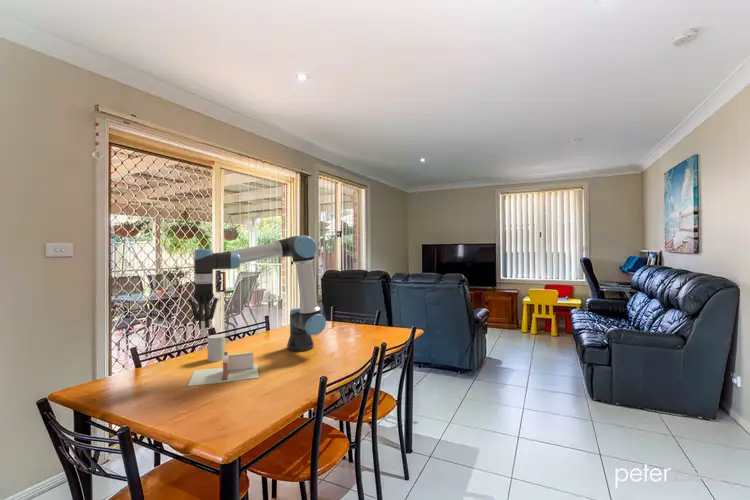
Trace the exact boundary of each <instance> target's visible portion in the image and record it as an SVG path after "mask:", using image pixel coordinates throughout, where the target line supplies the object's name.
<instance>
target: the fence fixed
mask: <svg viewBox="0 0 750 500" xmlns="http://www.w3.org/2000/svg"><path fill="white" fill-rule="evenodd" d="M225 355H228V371H233V370H242V369H251V368H253V364H254V352H253V351H249V352H240V353H239V352H238V353H229V352H228V351H225V352H224V356H225Z"/></svg>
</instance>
